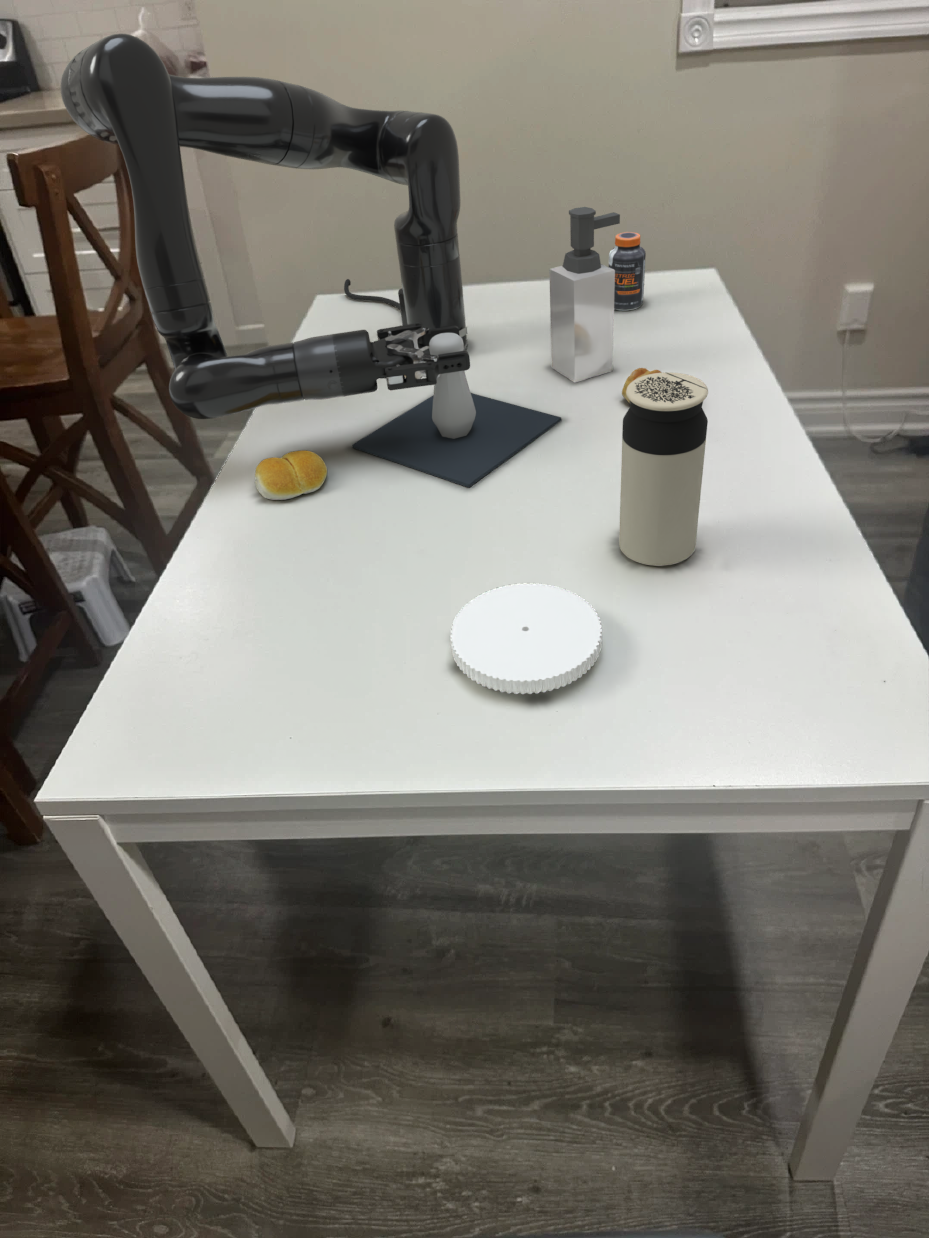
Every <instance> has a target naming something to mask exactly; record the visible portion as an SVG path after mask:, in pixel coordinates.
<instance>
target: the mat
mask: <svg viewBox="0 0 929 1238" xmlns="http://www.w3.org/2000/svg"><path fill="white" fill-rule="evenodd" d="M471 396H472V399H473V403H474V406H475V410H476V416H475V420H474V422H473V424H472V427H471V430H470V431H469V433H468V434H467V436H463V437H459V438H455V439H452V438H447V437H443V436H442V435H441V433H440V432H439V430H438V428H437V426H436V425H435V423H434V422H433V420H432V409H433V395H431V396H430V397H428V398H426V399H424V400H423V401H422V402H420V403H418V404H416V405H415V406H412V407H411V408H410V409H408V410H406V411H404V413H403V412H402V413H401V415H399V416H396V417H395V418H393V419H392V420H390V421H389V422H387V423H385V424H383V425H382V426H380V427H379V428H377V429H375V430H374V431H372V432H370V433H369V434H367V435H366V436H364V437H362V438H360V439H359V440H357V441H355V442H354V443H352V444H351V447H352V448H353V449H355V450H358V451H361V452H364V453H367V454H370V455H373V456H375V457H379V458H380V459H384V460H387V461H390V462H392V463H395V464H399V465H402V466H404V467H408V468H411V469H413V470H417V471H419V472H422V473H424V474H427V475H431V476H433V477H436V478H440V479H442V480H445V481H448V482H452V483H454V484H457V485H460V486H462V487H466V488H468V489H469V488H471V487H472V486H474V485H475V484H476V483H478V482H479V481H481V480H482V479H483V478H485V477H486V476H487V475H489V474H490V473H491V472H493V471H494V470H496V469H497V468H499V467H500V466H501V465H502V464H504V463H506V461H509V460H510V459H511V458H512V457H513V456H515V455H516V454H518V453H519V452H521V450H523V449H525V448H526V447H527V446H528V445H530V444H531V443H533V442H534V441H535V440H537V439H538V438H539V437H541V436H542V435H544V434H545V433H546V432H548V431H549V430H551V429H552V428H553V427H555V426H556V425H558V424H559V423H560V422H562V417H561V416H558V415H554V414H550V413H547V412H543V411H540V410H535V409H533V408H528V407H524V406H521V405H517V404H513V403H510V402H506V401H502V400H499V399H495V398H491V397H487V396H484V395H480V394H476V393H473V392H471Z"/></svg>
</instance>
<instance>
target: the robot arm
mask: <svg viewBox="0 0 929 1238" xmlns="http://www.w3.org/2000/svg"><path fill="white" fill-rule="evenodd" d="M60 96H61V100H62V103H63V105H64V108H65V110H66V111H67V114H68V115H69V116H70V118H71V119H72V120H73V122H74V123H75V124H76V125H77V126H78V127H79V128H80V129H82V130H83V131H84V132H85V133H87V134H88V135H90V136H92V138H94V139H96V140H99V141H101V142H103V143H106V144H111V145H119V148H120V151H121V153H122V157H123V159H124V162H125V166H126V169H127V173H128V177H129V183H130V187H131V196H132V201H133V202H132V203H133V213H134V214H133V215H134V240H135V241H134V242H135V244H134V245H135V256H136V262H137V267H138V273H139V276H140V280H141V284H142V289H143V291H144V294H145V295H144V296H145V297H146V302H147V305H148V308H149V311H150V312H151V313H150V315H151V318H152V320H153V323H154V326H155V328H156V330H157V332H158V334H159V335H160V336H162V337H163V338H164V340H165V343H166V346H167V349H168V353H169V355H170V358H171V362H172V365H173V369H174V370H173V372H172V374H171V376H170V379H169V382H168V393H169V398H170V400H171V402H172V404H173V405H174V406H175V408H176V409H177V410H178V411H180V412H181V413H182V414H184V415H185V416H187V417H189V418H192V419H196V420H212V419H218V418H222V417H227V416H232V415H235V414H239V413H242V412H246V411H247V412H248V411H251V410H254V409H257V408H260V407H263V406H270V405H271V406H272V405H282V404H288V403H296V402H302V401H314V400H317V401H318V400H330V399H336V398H341V397H349V396H355V395H363V394H367V393H368V394H369V393H374V392H376V391H377V390H378V380H379V379H381V380H382V379H385V380H386V386H387V390H388V391H396V390H397V391H398V390H405V389H412V388H419V387H426V386H434V384H436V383H437V378H438V377H440V374H444V373H451V372H458V371H464V372H465V371H468V370H470V369H471V358H470V354H469V352H468V350H467V349H468V347H469V339H468V336H467V335H468V327H467V325H466V323H467V322H466V312H465V311H466V310H465V300H464V288H463V278H462V277H463V276H462V266H461V265H462V264H461V256H460V255H461V254H460V244H459V233H458V220H459V216H460V212H461V183H460V182H461V179H460V177H461V176H460V156H459V154H460V153H459V147H458V141H457V136H456V133H455V132H454V129H453V127H452V125H451V123H450V122H449V121H448V119H446V118H445V117H444V116H442V115H439V114H436V113H431V112H421V111H411V110H381V109H380V110H377V109H366V108H358V107H357V108H356V107H352V106H349V105H346V104H344V103H341V102H339V101H338V100H336V99H334V98H332V97H331V96H328V95H326V94H324V93H323V92H320V91H317V90H315V89H312V88H309V87H306V86H302V85H299V84H295V83H292V82H286V81H281V80H278V79H274V78H269V77H268V78H267V77H261V76H260V77H259V76H216V77H215V76H214V77H213V76H211V77H186V76H179V75H174V74H169V72H168V69H167V67H166V65H165V63H164V62H163V60H162V58H161V57H160V55H159V54H158V53H157V52H156V51H155V49H154V48H153V47H152V46H150V44H148V43H147V42H146V41H145V40H142V39H141V38H139V37H138V36H134V35H132V34H130V33H113V34H110V35H107V36H105V37H103V38H101V39H99V40H97V41H94V43H92V44H90V45H88V46H87V47H86V48H84V49H82V50H81V51H79V52H78V53H77V54H75V55H74V56H73V57H72V59H71V60H70V61H69V62H68V63H67V65H66V66H65V69H64V70H63V72H62V75H61V78H60ZM181 148H188V149H195V150H199V151H203V152H207V153H210V154H211V153H212V154H216V155H220V156H225V157H228V158H229V157H230V158H234V159H239V160H245V161H250V162H254V163H258V164H259V163H260V164H263V165H269V166H275V167H281V168H290V169H295V170H325V169H334V168H344V169H349V170H354V171H358V172H362V173H365V174H369V175H372V176H375V177H378V178H381V179H383V180H387V181H389V182H392V183H395V184H397V185H398V184H399V185H402V186H403V185H404V186H407V189H408V210H406V211H404V212H401V213H400V214H398V215H397V216H396V217H395V219H394V222H393V228H394V237H395V244H396V252H397V259H398V266H399V273H400V281H401V288H399V289H398V291H397V295H398V296H397V297H398V301H396V300H393V299H390V298H387V297H384V296H378V295H363V294H355V293H352V292H350V289H349V288H350V286H351V284H352V283H351V280H350V279H349V278H346V280H345V281H344V286H343V292H344V294H345V295H346V296H347V297H348V298H350V299H353V300H357V301H367V302H380V303H384V304H387V305H390V306H392V307H395V308H396V309H398V310H399V311H400V318H401V324H402V325H396V326H391V327H385V328H379V329H377V330H376V335H377V340H374V341H371V338H370V333H369V331H367V330H366V329H357V330H351V331H344V332H338V333H331V334H330V333H329V334H325V335H317V336H312V337H311V336H310V337H307V338H305V339H301V340H298V341H293V342H292V341H291V342H286V343H278V344H272V345H267V346H261V347H257V348H255V349H252V350H250V351H249V352H246V353H243V354H236V355H228V353H227V350H226V347H225V344H224V343H223V339H222V336H221V334H220V331H219V329H218V326H217V324H216V322H215V321H216V320H215V317H214V311H213V306H212V302H211V299H210V294H209V291H208V287H207V283H206V279H205V276H204V272H203V268H202V264H201V261H200V258H199V254H198V248H197V244H196V240H195V236H194V230H193V225H192V220H191V214H190V208H189V203H188V196H187V189H186V183H185V175H184V167H183V166H184V165H183V160H182V152H181ZM441 333H455V334H457V335H459V336H460V337H461V338H462V340H463V343H464V349H463V351H459V352H452V353H445V354H439V355H438V356H437V355H431V354H430V351H429V343H430V340H431V339H432V337H434V336H435V335H438V334H441Z"/></svg>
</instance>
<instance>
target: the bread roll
mask: <svg viewBox="0 0 929 1238" xmlns="http://www.w3.org/2000/svg"><path fill="white" fill-rule="evenodd" d="M327 475H328V467H327V465H326V462H325V461H324V460H323V458H322V457H321V456H320V455H318V454H317V453H316V452H314V451H310V450H295V451H289V452H287V453H285V454H284V455H282V456H281V457H267V458H264V459H263V460H261V461H259V463H258V465H256V467H255V473H254V478H255V481H254V484H255V487H256V489H257V491H258V493H259V494H260V495H261V496H262V497H263V498H265V499H268V500H272V501H274V500H276V501H279V500H281V501H283V500H284V501H285V500H289V499H293V498H296V497H299V496H301V495H302V494H303V495H304V494H305V495H306V494H311V493H313V492H316V491H317V490H319V489H320V488H321V487H322V486H323V484H324V482H325V480H326V478H327Z"/></svg>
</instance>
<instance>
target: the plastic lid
mask: <svg viewBox="0 0 929 1238" xmlns="http://www.w3.org/2000/svg"><path fill="white" fill-rule="evenodd" d="M593 607H594V606H593V605H592V604H590V602H589V601H586V599H585V598H583V597H581V595H577V593H576V592H572V590H570V589H569V590H567V589H566V588H561V586H555V585H553V584H551V585H549V584H548V583H545V584H543V583H542V582H541V583H540V582H539V583H536V582H533V583H530V582H526V583H524V582H520V583H514V584H507V585H501V587H498V586H497V587H496V588H494V589H493V588H492V589H490V590H489V591H485V592H484V593H480V594H479V595H478V596H474V598H473V599H470V600H469V602H466V603H465V605H463V606H462V607H461V609H459V611H458V613H456V614H455V617H454V618H453V621H452V622H451V626H450V630H449V633H450V634H449V637H450V639H449V640H450V647H451V653H452V658H453V659H454V662H455V663H456V666H457V667H459V670H460V671H462V674H464V675H466V677H467V678H468V679H469V678H470V679H471V681H473V682H476V684H478V685H479V684H481V686H482V687H487V689H489V690H491V689H493V691H496V692H497V691H500V693H505V692H506V693H507V694H511V693H513V694H514V695H518V694H521V695H525V694H527V695H532V694H533V693H535V694H539V693H540V692H541V693H546V692H547V691H549V692H552V691H553V690H554V689H555V690H558V689H560V687H563V688H564V687H566V685H570V684H572V682H577V681H578V679H581V678H582V677H583V675H586V674H587V671H590V670H591V667H594V666H595V663H596V662H597V660H598V658H600V654H601V649H602V646H603V645H602V644H603V625H602V621H601V618H600V616H599V614H598V612H597V611H596V609H595V608H593Z"/></svg>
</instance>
